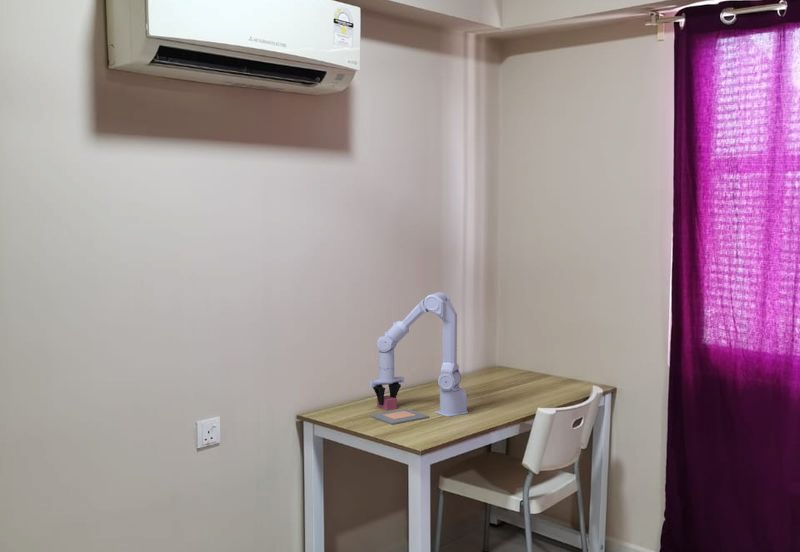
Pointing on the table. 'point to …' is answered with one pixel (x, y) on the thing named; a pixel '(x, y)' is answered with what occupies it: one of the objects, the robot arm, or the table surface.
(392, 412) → the mat
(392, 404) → the pink rectangular block
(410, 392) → the table surface
